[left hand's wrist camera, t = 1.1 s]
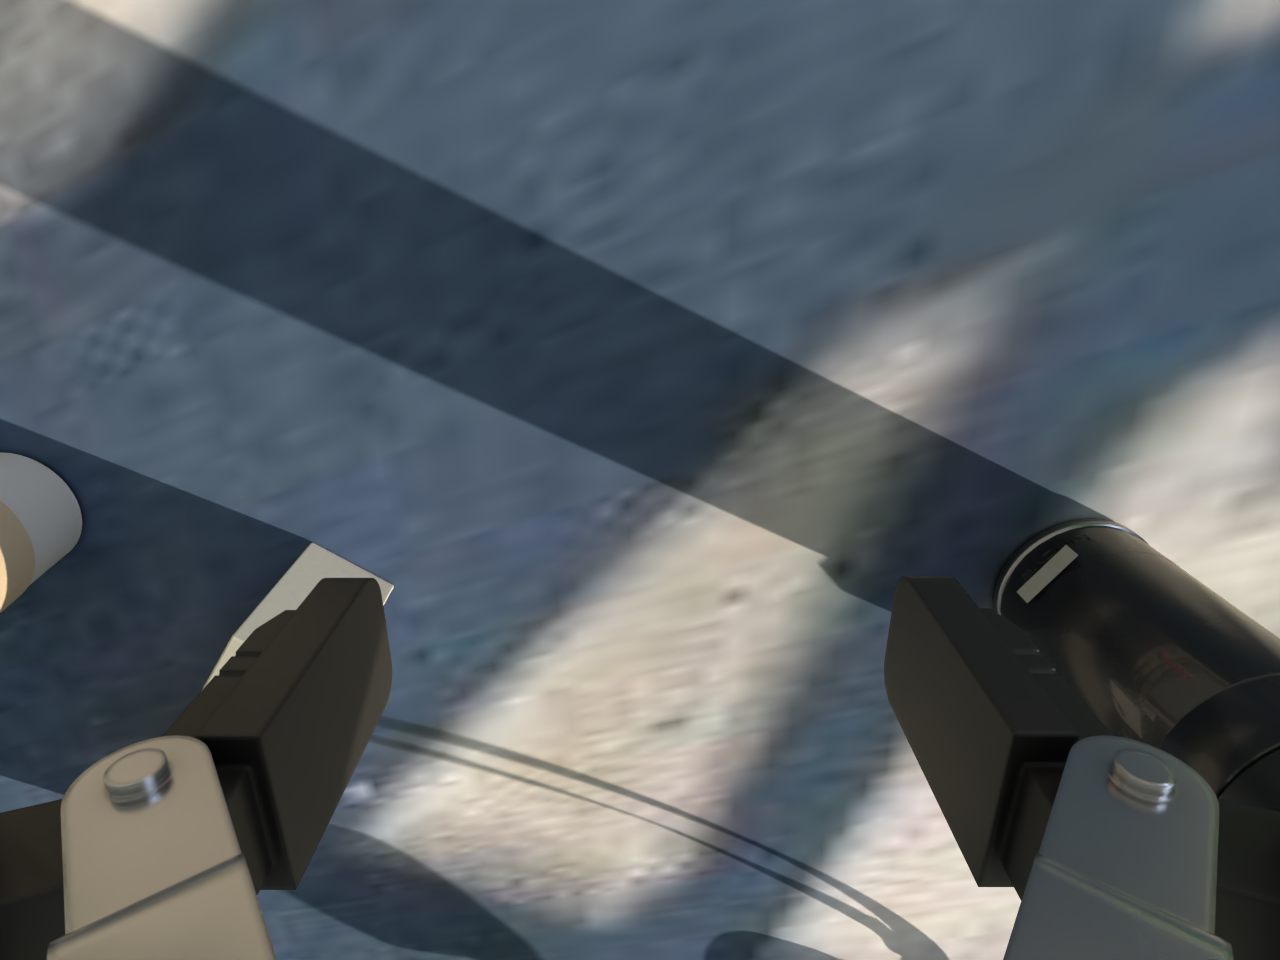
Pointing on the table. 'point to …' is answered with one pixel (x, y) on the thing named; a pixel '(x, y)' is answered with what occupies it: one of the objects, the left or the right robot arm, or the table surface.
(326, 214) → the table surface
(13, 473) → the coffee cup
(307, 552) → the bar
